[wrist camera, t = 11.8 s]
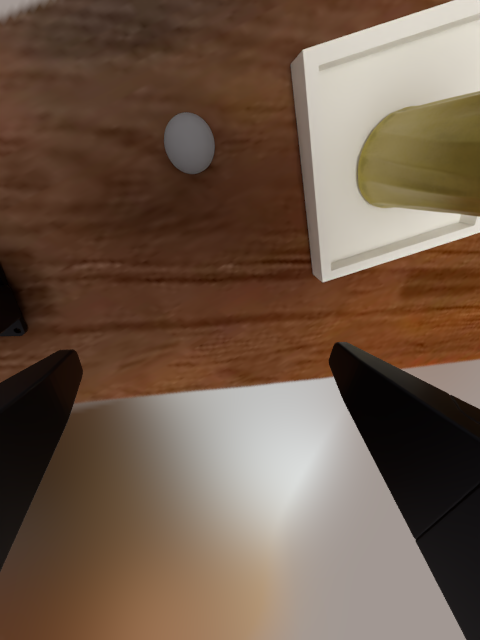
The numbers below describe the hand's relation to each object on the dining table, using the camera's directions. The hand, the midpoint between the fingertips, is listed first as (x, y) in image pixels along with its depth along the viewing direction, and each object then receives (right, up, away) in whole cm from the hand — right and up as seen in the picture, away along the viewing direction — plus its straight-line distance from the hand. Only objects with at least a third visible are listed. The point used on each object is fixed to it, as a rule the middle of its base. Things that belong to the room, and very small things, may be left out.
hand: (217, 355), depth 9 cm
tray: (+12, +13, +10) cm, 21 cm away
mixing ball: (-2, +12, +6) cm, 14 cm away
